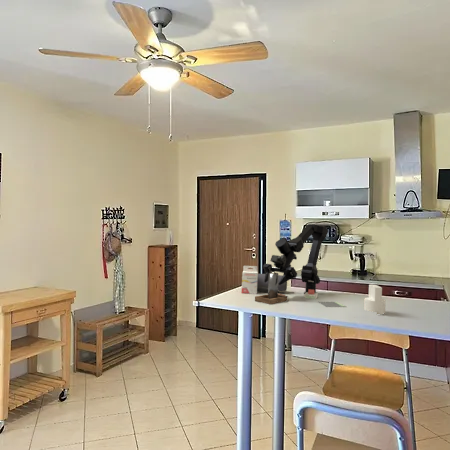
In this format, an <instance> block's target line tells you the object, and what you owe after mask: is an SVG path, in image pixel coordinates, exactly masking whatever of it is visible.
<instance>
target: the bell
mask: <svg viewBox="0 0 450 450" xmlns="http://www.w3.org/2000/svg"><path fill="white" fill-rule="evenodd" d="M278 275H279V272H276V271H275V272H272V273H269V283H268V292H267V294H268V299H272V298H278V294H279V291H278Z"/></svg>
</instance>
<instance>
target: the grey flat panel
mask: <svg viewBox="0 0 450 450" xmlns="http://www.w3.org/2000/svg"><path fill="white" fill-rule="evenodd" d="M318 303H319V304H320V305H322V306H323V307H325V308H347V306H346V305H344V304H343V303H340V302H338V301H318Z"/></svg>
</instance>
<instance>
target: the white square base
mask: <svg viewBox="0 0 450 450" xmlns="http://www.w3.org/2000/svg"><path fill="white" fill-rule="evenodd" d="M303 294H304V293H303ZM303 297H304V299H313V300H316V299H318V298H319V293H318V292H317V293H314V294H308V292H306V293H305V294H304V295H303Z"/></svg>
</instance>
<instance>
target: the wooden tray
mask: <svg viewBox="0 0 450 450" xmlns="http://www.w3.org/2000/svg"><path fill="white" fill-rule="evenodd" d="M254 302H258V303H261V304H265V305H267V304H268V305H273V304H279V303H283V302H288V295H287V296H286V295H285V296H283V295H278V298H272V299H268V293H267V294H262V295H255V296H254Z"/></svg>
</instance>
